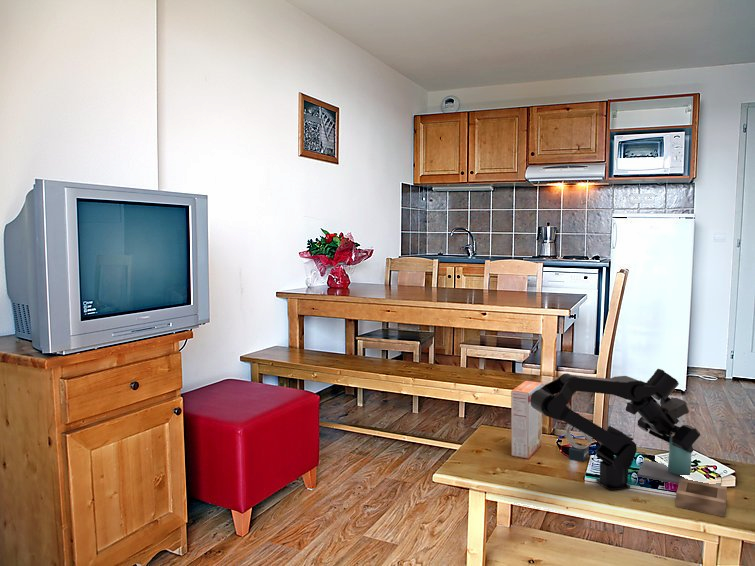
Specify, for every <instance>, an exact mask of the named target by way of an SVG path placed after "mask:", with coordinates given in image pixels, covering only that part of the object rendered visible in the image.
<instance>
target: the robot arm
mask: <svg viewBox="0 0 755 566" xmlns="http://www.w3.org/2000/svg"><path fill="white" fill-rule="evenodd" d="M679 384H680V383H679V381H678V380H677V378H674V377H673V376H672V375H670V374H669V373H667V372H665V370H663V369H662V368H657V369H656V370H655V371H654V373H653V375H651V377H650V378H649V379H648V380H647V381H643V380H638V379H636V378H633V377H630V376H628V375H619V376H618V375H617V376H613V377H611V378H610V377H609V378H608V377H607V378H606V377H605V378H604V377H598V376H597V377H596V376H588V375H587V376H586V375H585V376H584V375H578V374H577V375H576V374H575V375H574V374H570V373H569V372H568V373H562V374H561V375H560V376H558V377H557V378H556V379H554V380H552V381H550V382H547V383H545V384H544V385H542V388H541V389H539V390H536V391H535V392H534V393H533V394H532V396H531V400H530V402H531V406H532V407H533V408H534V409H536V410H537V411H539V412H541V413H542V415H544V416H546V417H548V418H550V419H553V420H557V421H562V422H565V423H567V425H571V426H572V427H573V428H575V429H577V430H578V431H580V432H581V433H582V432H583V433H585V434H587V435H589V436H590V437H592V438H593V439H594V440H595V441H597V442H598V444H599V447H597V449H596V450H595V452H594V453H595V455H596V458H597V459H599V460H601V461H599V478H596V479H595V481H596V482H597V483H598V484H600V486H602V487H604V488H605V489H607V490H609V491H615V490H616V491H617V490H624V489H630V488H631V485H629V484H628V482H629V469H630V468H632V464H633V461H634V459H635V458H636V454H637V451H638V450H637V443H635V442H634V438H633V437H631V436H629V435H627V434H626V433H624V432H623V431H621V430H618V429H617V428H615V427H613V426H611V425H608V426H607V429H605V428H603V427H601V426H600V425H598V424H596V423H594V422H593V421H591V420H590V419H587V418H586V417H584V416H582V415H581V414H579V413H577V412H576V411H574V410H573V409H571V408H570V407H569V406H568V404H569V403H570V401H571V400H572V397H573V395H574V394H575V393H576V392H582V393H594V394H603V395H612V396H616V397H619V398H622V399H625V400H628V401H630V402H626V406H625V412H627V413H629V414H632V415H633V416H634V415H636V414H637V413H638V414H639V416H641V417H640V418H639V419H638V420H637V427H638V428H640V429H641V430H642V431H644V432H646V433H648V434H650V435H652V436H653V437H656V438H657V439H659V440H662V441H664V442H666V443H669V442H670V437H671V434H674V436H673V437H672V442H673V444H672V445H674V446H676V447H678V448H680V449H683V450H685V451H687V452H690V453H693V452H694V446H693V444H694V443H695V442H696V441H697V440H698V439H699V437H700V436H701V433H700V431H699V430H698V429H697V428H695V427H693V426H691V425H688V424H682V425H681V426H677V424H678V423H679V422H680V420H679V418H682V417H683V416H685V415H687V414H690V411H689V408H688V404H687V402H686V401H685V400H683V399H681V398H678V397H670V395H671V394H672V393H673V392H674V391H675V389H676V388H677V387H678V386H679ZM657 400H658V401H659V402H658V401H657ZM571 426H570V427H571Z"/></svg>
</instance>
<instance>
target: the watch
mask: <svg viewBox="0 0 755 566" xmlns="http://www.w3.org/2000/svg"><path fill="white" fill-rule="evenodd" d="M570 427H571V425H570V424H568V425H567V427H566V429H565V437H566V440H567V442H568V443H569V445H570V447H569V448H568V460H572V461H577V462H581V463H582V462H583V463H584V462H585V460H587V459H588V458H589V453H590V451H589V449H590V448H589V447H590V445H591V444H592V442H593V439H594V438H592V437H590V436H589V435H587V434H585V433H583V432H582V431H581V434H582V435H583V437H584V438H585V440H587V443H588V444H587V445H582V444H577V443H575V440H574V438H573V436H572V435H571V431H570Z"/></svg>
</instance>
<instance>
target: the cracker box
mask: <svg viewBox="0 0 755 566" xmlns="http://www.w3.org/2000/svg"><path fill="white" fill-rule="evenodd" d="M542 387H543V383H542V382H538V381H531V380H525V381H523V382H521V384H519V385H517V387H515V388H513V389H512V390H511V392H510V397H511V398H510V401H511V403H510V404H511V405H510V406H511V413H510V414H511V416H510V418H511V422H510V423H511V427H510V429H511V430H510V431H511V432H510V433H511V434H510V435H511V437H510V439H511V444H510V445H511V457H515V458H519V459H520V458H522V459H525V460H530V459H531V457H532V456H533V455H534V454H535V453H536V452H537V450H538V449H539V448H541V446H542V443H543V441H542V439H543V436H542V435H543V432H542V431H543V427H542V422H543V419H542V418H543V417H542V416H543V414H542V413H541V412H539V411H537V410H536V409H534V408H533V407H532V406H531V402H530V400H531V396H532V394H533V393H534V392H535V391H536V390H539V389H541V388H542Z"/></svg>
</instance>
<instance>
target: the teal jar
mask: <svg viewBox="0 0 755 566" xmlns="http://www.w3.org/2000/svg"><path fill="white" fill-rule="evenodd" d="M673 436H674V434H671V437H670V442H668V443H669V446H668V449H669V450H668V461H667V462H668V463H667V464H668V470H669V471H670V472H671V473H674V474H678V475H690V473H691V469H692V453H693V452H692V453H690V452H687V451H685V450H683V449H680V448H678V447H676V446H674V445H672V444H673V442H672V437H673Z"/></svg>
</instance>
